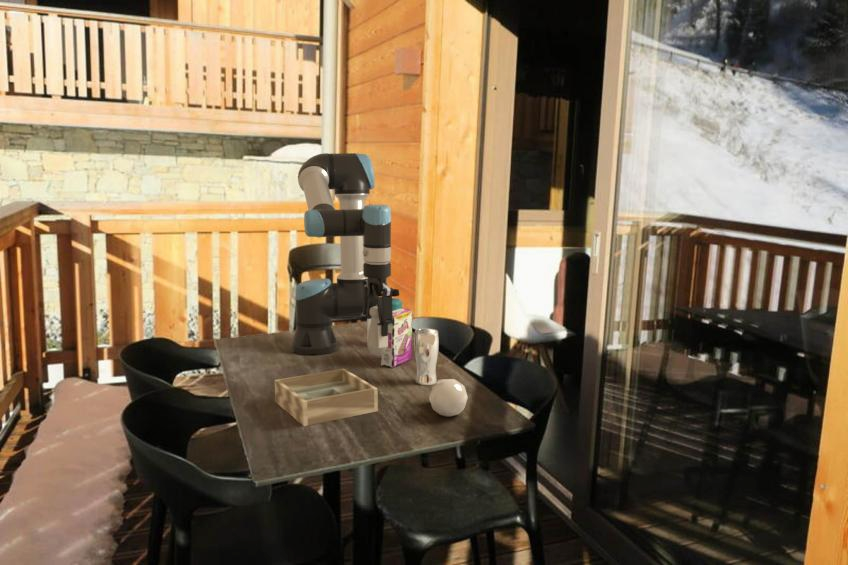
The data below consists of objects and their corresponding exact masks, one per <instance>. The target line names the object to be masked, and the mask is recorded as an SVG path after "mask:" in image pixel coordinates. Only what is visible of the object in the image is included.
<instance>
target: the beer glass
mask: <svg viewBox="0 0 848 565" xmlns="http://www.w3.org/2000/svg"><path fill="white" fill-rule="evenodd" d="M413 341H414V347H413V348H414V350H413V351H414V356H415V362H416V378H415V383H417V385H421V386H433V385H435V384H436V383H437V380H438V379H437V373H436V372H437V371H436V368H437V363H438V357H439V348H440V347H439V346H440V343H439V341H440V340H439V331H438V330H437V329H435V328H428V327H427V328H418V329H416V330H415V331H414V340H413Z"/></svg>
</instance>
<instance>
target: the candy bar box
mask: <svg viewBox="0 0 848 565" xmlns="http://www.w3.org/2000/svg"><path fill="white" fill-rule="evenodd" d="M392 315H393V322H392V323H390V324H388V347H387V348H386V350H385V352H384V353H383V354H380V366H382V367H387V368H391V369H394V368H396V367H398V366H400V365H402V364H405V363H406V362H407V363H408V361H411V360H412V355H413V354H412V346H413V343H412V342H413V341H412V340H413V339H412V338H413V335H412V334H413V310H412V309H407V308H402V309H397V310H394V311H392Z"/></svg>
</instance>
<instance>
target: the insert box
mask: <svg viewBox="0 0 848 565" xmlns="http://www.w3.org/2000/svg"><path fill="white" fill-rule="evenodd" d="M378 393H379V392H378V388H377V387H376V386H374V385H373V384H371V383H369V382H367V381H366V380H365V379H362V378H361V377H359V376H358V375H355V374H354V373H352V372H351V371H349V370H348V369H345V368H339V369H332V370H327V371H320V372H315V373H310V374H309V373H308V374H303V375H297V376H290V377H284V378H278V379H274V400H275V401H274V402H275V403H276V404H277V405H278V406H280V408H282V409H283V410H286V411H285V412H287V413H288V414H289V415H290V416H291V417H292V416H293V418H294V419H295V420H296V421H297V422H298V423H299V424H301V425H302V426H303V427H306V426H312V425H317V424H322V423H326V422H330V421H335V420H341V419H347V418H352V417H356V416H361V415H365V414H370V413H375V412H379V394H378Z"/></svg>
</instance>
